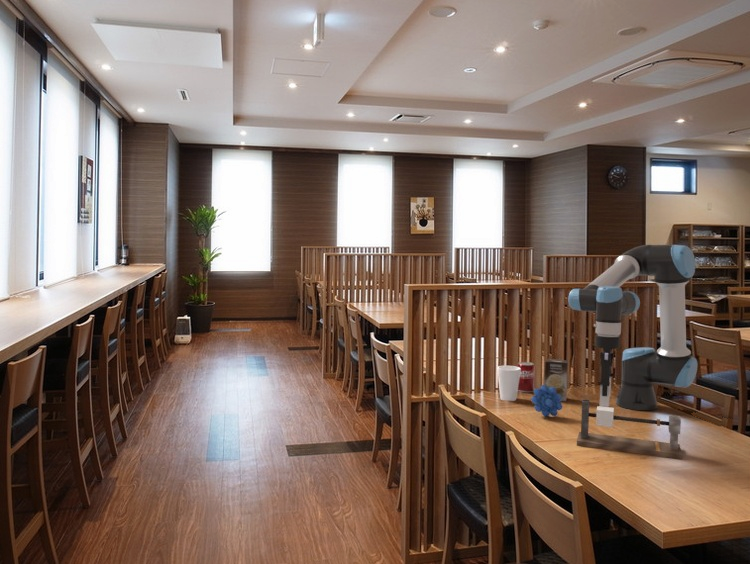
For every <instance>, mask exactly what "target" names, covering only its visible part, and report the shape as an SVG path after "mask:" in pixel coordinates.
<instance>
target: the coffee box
mask: <svg viewBox="0 0 750 564" xmlns="http://www.w3.org/2000/svg"><path fill="white" fill-rule="evenodd" d="M568 365H569V361H568V360H567V359H566V360H565V359H555V358H545V362H544V383H543V385H546V386H547V387H548V389H549V388H550V387H554V388H555V389H556V391H557V392H556V394H560V395H561V397H562V400H561V401H560V402H567V393H568V391H567V390H568V369H569V368H568V367H569V366H568Z"/></svg>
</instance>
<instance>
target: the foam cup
mask: <svg viewBox="0 0 750 564" xmlns="http://www.w3.org/2000/svg"><path fill="white" fill-rule="evenodd" d="M496 369H497V370H496V371H497V372H496V373H497V380H498V387H499V396H500V400H502V401H506V402H514V401H516V400H517V396H518V392H519V391H518V385H519V378H520V374H521V368H519V367H517V366H515V365H498V366H497V368H496Z"/></svg>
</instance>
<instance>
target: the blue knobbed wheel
mask: <svg viewBox="0 0 750 564" xmlns="http://www.w3.org/2000/svg"><path fill="white" fill-rule="evenodd" d="M556 392H557V391H556V389H555V388H554V387H550V388H549V389H548V387H547V386H546V385H544V384H541V386H540V388H538V387H537V388H534V391H533V394H534V395H533V396H531V398H530V400H531V403H532V404H535V405H534V407H533V408H534V410H535V411H536V412H538V413H540V412H541V415H542V416H543V417H547V418H548V417H549V416H550V415H551V416H554V417H555V416H558V413H559V412H558V411H561V410H562V409H563V404H562V403H561V402H562V401H561V400H562V397H561V395H560V394H556Z"/></svg>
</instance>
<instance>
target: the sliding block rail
mask: <svg viewBox="0 0 750 564" xmlns="http://www.w3.org/2000/svg"><path fill="white" fill-rule="evenodd" d="M596 414H597V413H594V412H590V399H588V398H582V400H581V419H580V421H581V423H580V424H581V426H580V429H581V430H580V431H579V432H578V436H577V439H576V446H580V447H585V446H588V447H587V448H593V447H594V448H595V449H600V448H601V450H602V449H603V450H611V451H617V452H624V453H630V454H639V455H646V456H655V457H662V458H669V459H675V460H677V459H678V460H683V452H682V449H681V444H679V435H681V428H682V427H681V426H682V425H681V423H682V419H681V416H680V415H673V414H668V421H666V420H664V421H663V420H661V419H660V418H659V419H658V418H656V419H647V418H640V417H639V418H638V417H629V416H621V415H614V416H613V419H614V420H613V421H623V422H624V421H625V422H633V423H640V424H641V423H642V424H649V425H656V426H658V427H660V426H668V433H669V442H664V441H658V440H648V439H647V440H646V439H640V438H631V437H624V436H617V435H606V434H601V433H600V434H599V433H593V432H589V427H590V426H589V422H590V417H591V418H596ZM594 448H593V449H594Z"/></svg>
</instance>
